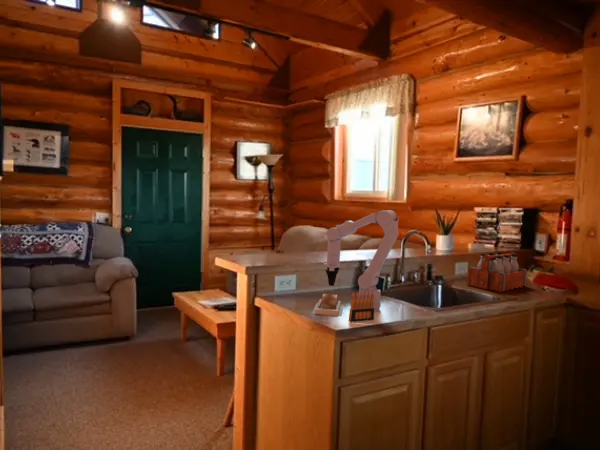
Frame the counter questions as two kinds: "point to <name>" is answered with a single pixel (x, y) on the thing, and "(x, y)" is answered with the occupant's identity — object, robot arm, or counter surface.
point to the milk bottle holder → (497, 272)
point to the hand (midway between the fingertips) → (331, 284)
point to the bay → (323, 311)
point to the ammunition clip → (362, 307)
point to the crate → (329, 301)
